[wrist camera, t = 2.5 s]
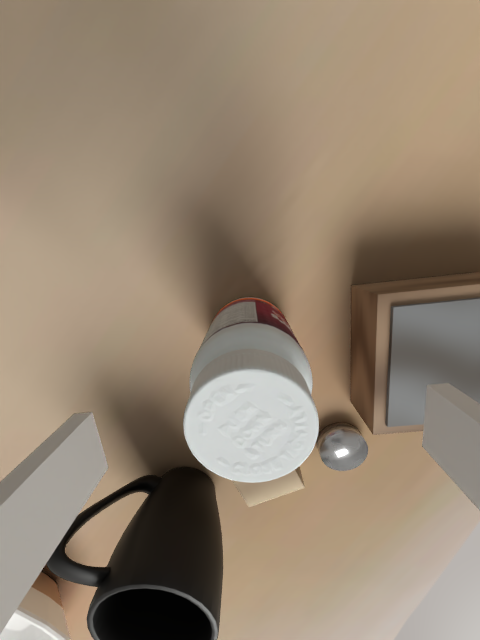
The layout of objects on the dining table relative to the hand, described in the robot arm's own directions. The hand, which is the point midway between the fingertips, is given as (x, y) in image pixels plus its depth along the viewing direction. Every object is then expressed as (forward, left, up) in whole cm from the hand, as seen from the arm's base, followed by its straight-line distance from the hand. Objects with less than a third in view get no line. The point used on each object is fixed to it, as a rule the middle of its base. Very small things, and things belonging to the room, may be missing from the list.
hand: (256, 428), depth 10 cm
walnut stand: (+2, +13, -11) cm, 17 cm away
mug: (+14, -9, -11) cm, 20 cm away
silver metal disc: (+11, +7, -11) cm, 17 cm away
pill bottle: (0, 0, -11) cm, 11 cm away
